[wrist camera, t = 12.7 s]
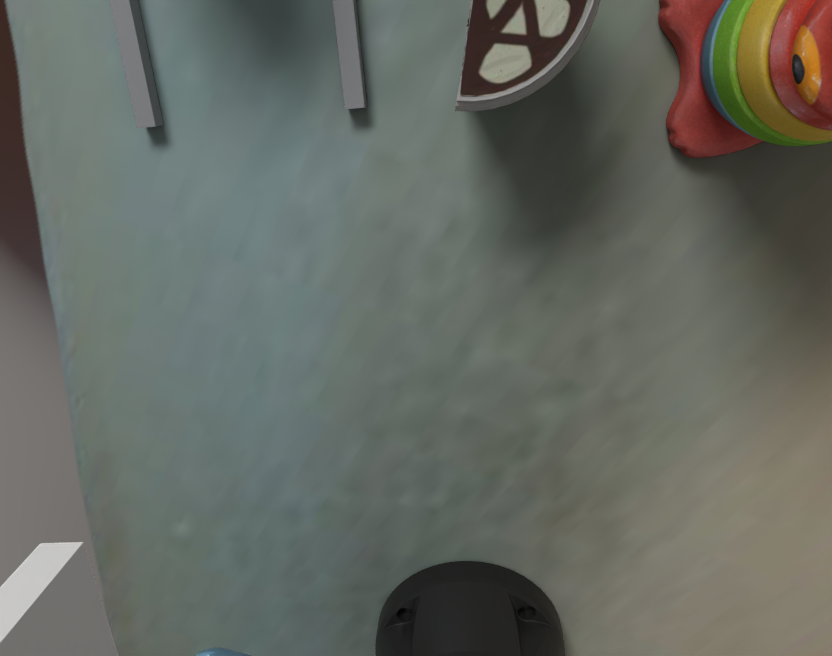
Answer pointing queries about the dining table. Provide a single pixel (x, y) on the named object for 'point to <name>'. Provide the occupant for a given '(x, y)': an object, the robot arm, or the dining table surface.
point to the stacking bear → (749, 73)
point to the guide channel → (142, 74)
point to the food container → (518, 48)
